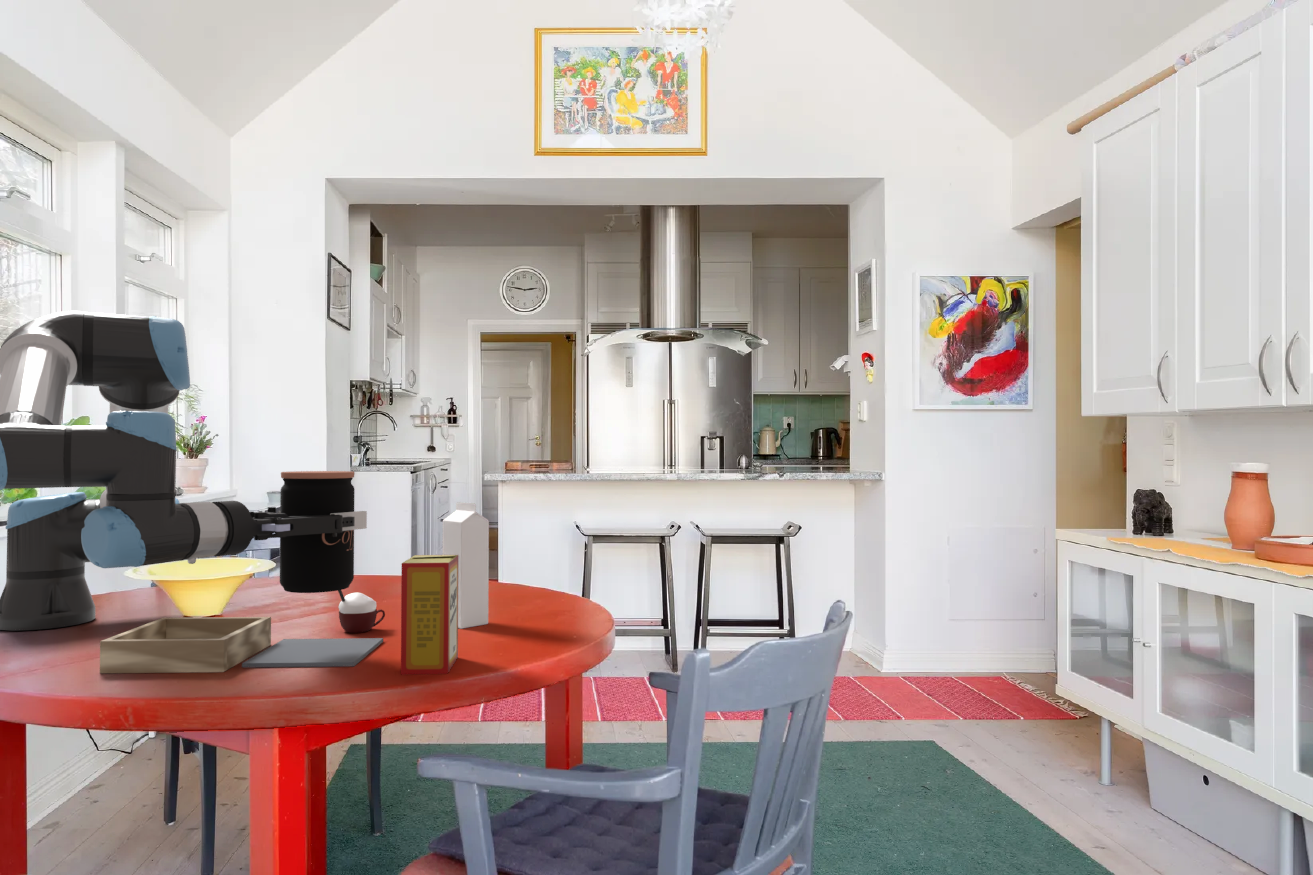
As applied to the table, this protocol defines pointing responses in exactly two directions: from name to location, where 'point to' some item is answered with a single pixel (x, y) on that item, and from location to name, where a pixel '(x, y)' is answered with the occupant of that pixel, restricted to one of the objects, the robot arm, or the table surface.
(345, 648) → the slate mat
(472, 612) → the milk
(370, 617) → the cocoa
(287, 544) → the coffee jar
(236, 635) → the wooden tray
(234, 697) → the table surface
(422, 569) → the baking soda box
